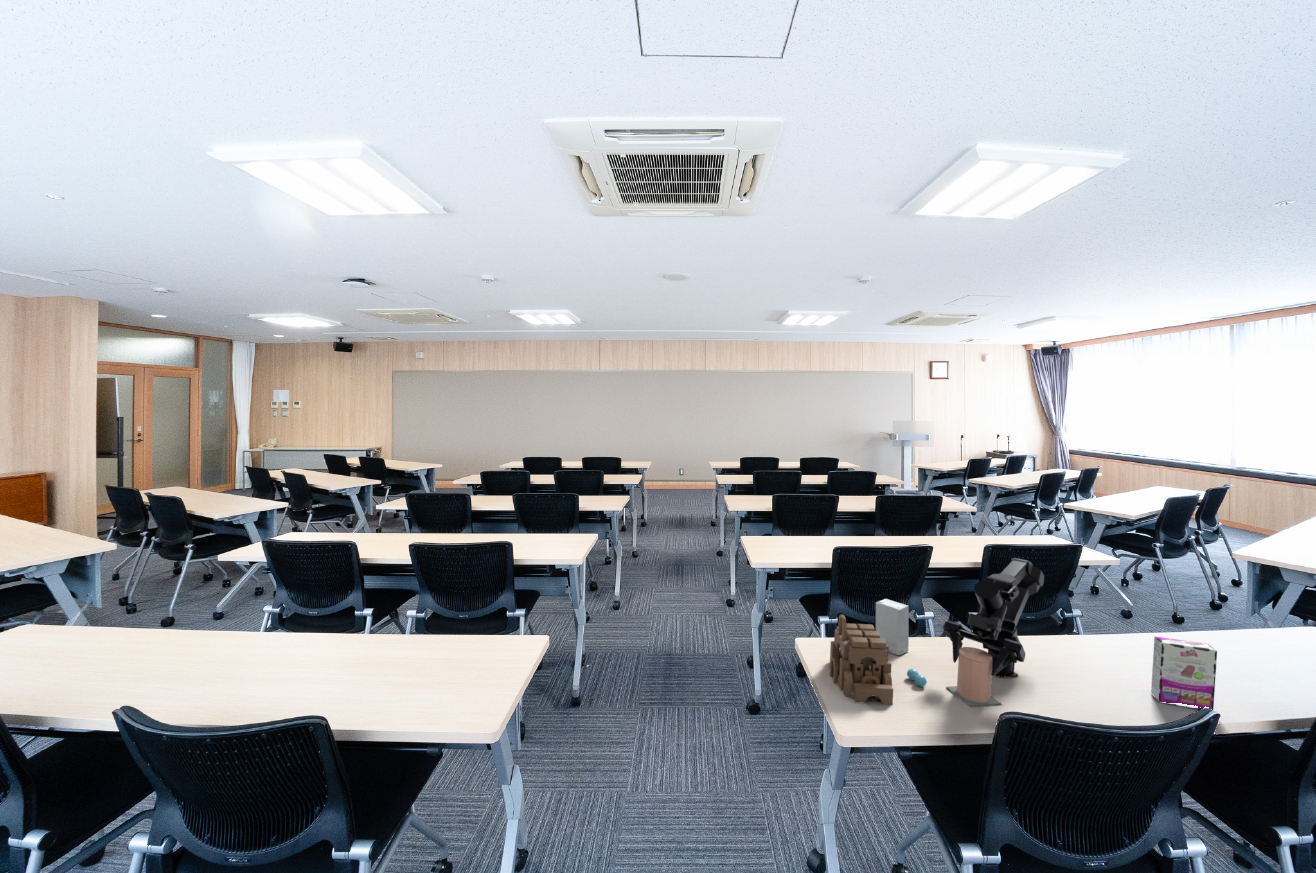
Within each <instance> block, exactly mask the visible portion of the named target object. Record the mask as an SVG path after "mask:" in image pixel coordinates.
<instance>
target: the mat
mask: <svg viewBox="0 0 1316 873" xmlns="http://www.w3.org/2000/svg"><path fill="white" fill-rule="evenodd" d="M945 688H946V689H947V690H948V691H949V692H951V693H952V694H953V695H954V696H955V697H957V698H958V699H960V700H961V701H963V703H965V704H966V705H967V706H968V707H970V708H972V707H974V708H975V707H988V706H1001V705H1002V702H1001V701H999V700H998V699H996V698H995V697H993V696H992V695H991V696H990V701H988V702H986V703H979V702H974V701H970V700H968V699H966V698H963V697H962V696H961V695H959V694H958V693H957V685H955V686H954V685H951V686H949V685H948V686H945Z"/></svg>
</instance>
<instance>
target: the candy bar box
mask: <svg viewBox="0 0 1316 873" xmlns="http://www.w3.org/2000/svg"><path fill="white" fill-rule="evenodd" d="M1153 638H1154V639H1153V652H1152V653H1153V655H1152V671H1151V672H1152V674H1151V688H1150V689H1151V690H1150V694H1151V693H1152V694H1153V695H1154V696H1155V697H1154V699H1155V700H1156V701H1157V700H1158V701H1159V702H1158V701H1157V702H1158V703H1160V702H1166V703H1182V704H1187V705H1194V706H1195V705H1196V706H1198V709H1197V710H1199V709H1203V708H1204V707H1205V706H1206V707H1209V709H1212V710H1213V711H1214V707H1215V706H1214V705H1215V689H1216V674H1217V659H1218V650H1217V649H1215V648H1214V647H1213V646H1211V645H1210V644H1208V643H1205V642H1197V641H1191V640H1185V639H1183V640H1182V639H1177V638H1176V639H1175V638H1169V637H1161V636H1154V637H1153ZM1152 694H1151V695H1152ZM1200 707H1201V708H1200Z"/></svg>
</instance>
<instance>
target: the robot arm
mask: <svg viewBox="0 0 1316 873" xmlns="http://www.w3.org/2000/svg"><path fill="white" fill-rule="evenodd" d="M1044 580H1045V575H1044V573H1043V571H1042V570H1041V569H1040V568H1038V567H1037V566H1035V565H1034V564H1033V562H1031V561H1030V560H1027V559H1022V558H1018V557H1017V558H1016V557H1014V558H1011V559H1010V562H1009V564H1008V565H1007V566H1006V567H1005V568H1004V569H1003V570H1002V571H1001V572H999V573H993V574H991V575H989V576H986V577H985V579H982V580H981V581H978V582H976V583H975V584H974V586H973V590H974V593H975V596H976V598H977V601H978V603H979V605H980V609H979V612H977V613H976V614H974V613H973V612H969V614H968V620H967V624H966V625H968V627H969V631H968V630H965V629H964V627H963V626H962V624H961V623H957V622H954V621H952V620H946V621H945V622H944V623H943V626H942V630H943V631H944V633H945V635H946V637H947V638H948V639H949V640H950V641H951V645H952V661H953V663H957V661H958V659H959V649H960V648H962V647H963V645H964V643H963V642H962V641H964V638H965V639H968V640H970V641H974V642H977V643H981V644H982V648H983V649H985V650H987V652H988V653H989V654H991V655H992V660H993V664H992V673H991V675H992V677H997V678H1016V677H1019V674H1018V673H1017V672H1015V664H1017V663H1018V662H1021V663H1024V662H1025V659H1026V651H1025V648H1024V646H1023V645H1022V643H1021V642H1020V639H1019V636H1018V630H1017V625H1018V623H1019V620H1020V618H1021V616H1022V613H1023V611H1024V608H1025V606H1026V603H1027V601H1028V599H1029V597H1030V596H1032V595H1034V594H1037V593H1038V592H1039V590H1040V588H1041V587H1043V585H1044V582H1045V581H1044Z"/></svg>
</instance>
